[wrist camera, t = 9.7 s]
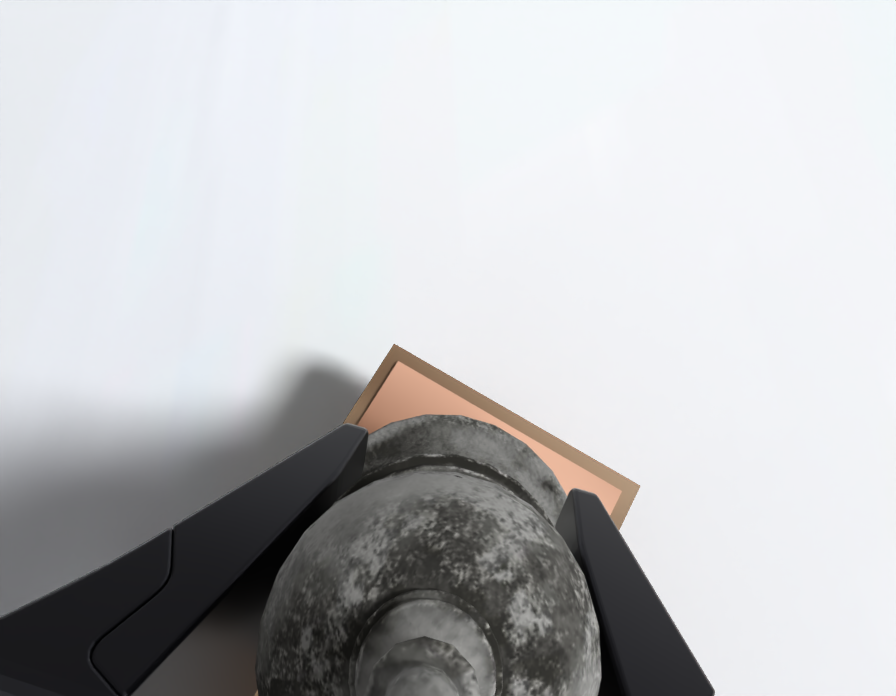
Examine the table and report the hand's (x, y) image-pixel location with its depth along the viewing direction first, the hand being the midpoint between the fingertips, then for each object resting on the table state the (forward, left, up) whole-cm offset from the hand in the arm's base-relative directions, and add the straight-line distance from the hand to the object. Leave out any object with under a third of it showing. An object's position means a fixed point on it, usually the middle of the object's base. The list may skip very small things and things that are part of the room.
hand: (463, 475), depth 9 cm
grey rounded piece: (-2, 0, -6) cm, 6 cm away
